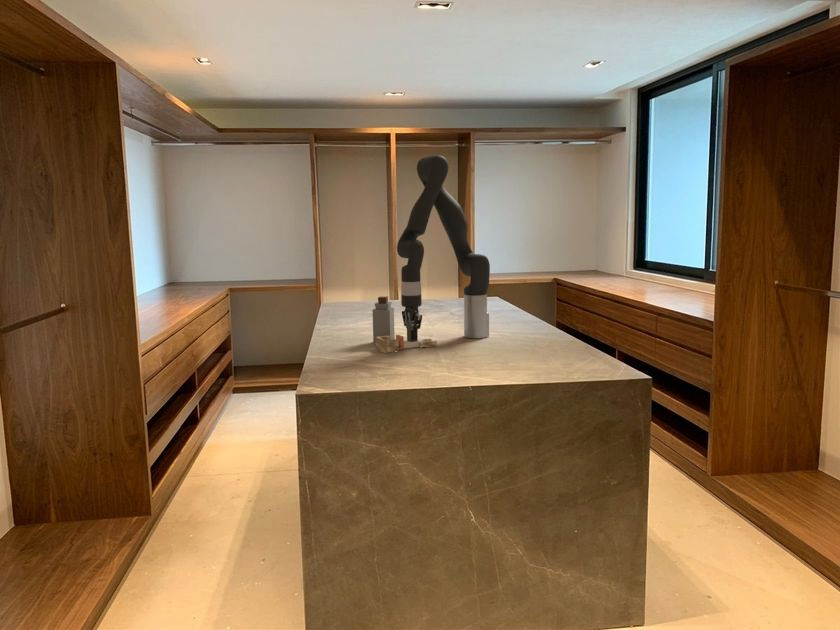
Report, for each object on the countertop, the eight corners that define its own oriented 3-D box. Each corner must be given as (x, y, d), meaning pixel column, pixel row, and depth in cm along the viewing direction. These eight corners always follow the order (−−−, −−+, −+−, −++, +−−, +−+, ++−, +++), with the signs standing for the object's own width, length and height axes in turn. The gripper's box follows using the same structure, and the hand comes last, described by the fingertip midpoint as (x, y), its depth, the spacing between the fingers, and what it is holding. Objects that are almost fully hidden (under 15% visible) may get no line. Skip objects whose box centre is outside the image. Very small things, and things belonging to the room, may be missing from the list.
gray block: (420, 344, 246) (420, 323, 245) (425, 346, 242) (425, 324, 241) (396, 347, 242) (395, 325, 241) (400, 349, 238) (400, 327, 237)
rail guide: (430, 343, 249) (430, 338, 248) (437, 346, 243) (437, 340, 243) (413, 345, 246) (413, 340, 245) (420, 348, 240) (420, 342, 240)
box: (389, 347, 243) (388, 335, 242) (398, 351, 235) (398, 339, 234) (375, 348, 241) (375, 337, 240) (384, 353, 233) (384, 341, 232)
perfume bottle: (390, 344, 247) (389, 298, 245) (373, 344, 249) (372, 298, 246) (394, 341, 254) (393, 296, 251) (378, 341, 255) (376, 295, 252)
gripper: (428, 294, 234) (429, 341, 237) (412, 290, 247) (413, 335, 250) (409, 296, 231) (411, 343, 234) (394, 292, 244) (395, 337, 247)
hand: (412, 338), depth 242 cm, fingers closed on gray block, 3 cm apart
